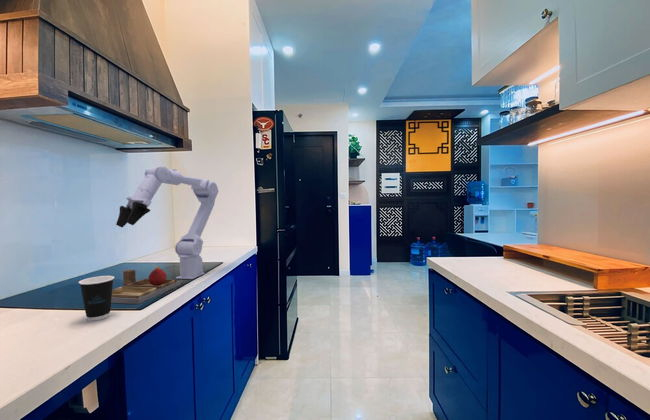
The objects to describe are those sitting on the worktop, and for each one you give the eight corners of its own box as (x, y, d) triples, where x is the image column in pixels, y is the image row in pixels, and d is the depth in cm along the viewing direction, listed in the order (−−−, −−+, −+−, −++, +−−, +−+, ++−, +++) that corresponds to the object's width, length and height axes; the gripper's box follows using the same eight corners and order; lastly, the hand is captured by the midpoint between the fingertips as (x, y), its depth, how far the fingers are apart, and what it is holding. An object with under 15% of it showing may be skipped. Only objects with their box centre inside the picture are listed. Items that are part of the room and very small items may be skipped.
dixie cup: (104, 310, 86) (103, 274, 86) (122, 313, 83) (120, 276, 83) (73, 320, 79) (72, 281, 78) (91, 325, 76) (90, 284, 76)
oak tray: (113, 291, 104) (112, 274, 103) (157, 293, 101) (156, 275, 101) (90, 300, 95) (89, 280, 95) (137, 302, 92) (137, 282, 92)
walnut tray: (135, 283, 114) (134, 267, 113) (176, 285, 111) (175, 268, 111) (116, 290, 105) (115, 273, 105) (160, 292, 102) (159, 274, 102)
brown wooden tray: (146, 283, 114) (146, 279, 114) (180, 285, 112) (180, 281, 111) (97, 302, 94) (97, 297, 94) (138, 304, 91) (138, 299, 91)
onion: (161, 290, 104) (160, 269, 103) (145, 290, 104) (144, 269, 104) (169, 284, 110) (169, 264, 109) (155, 284, 110) (154, 264, 109)
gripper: (125, 190, 106) (103, 221, 98) (145, 183, 98) (123, 216, 91) (142, 200, 110) (123, 231, 103) (163, 195, 103) (143, 227, 96)
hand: (124, 224), depth 97 cm, fingers open, 7 cm apart
